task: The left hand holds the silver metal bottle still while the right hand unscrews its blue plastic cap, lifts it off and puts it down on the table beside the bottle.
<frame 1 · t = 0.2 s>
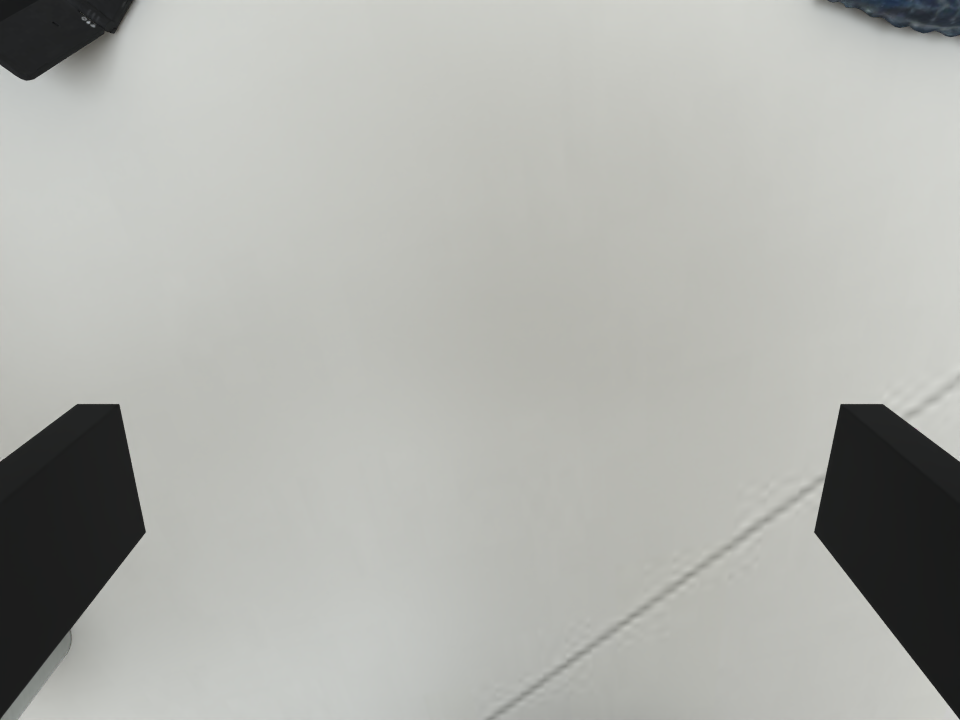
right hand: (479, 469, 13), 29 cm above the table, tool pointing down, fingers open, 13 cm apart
bottle: (21, 630, 51), on the table
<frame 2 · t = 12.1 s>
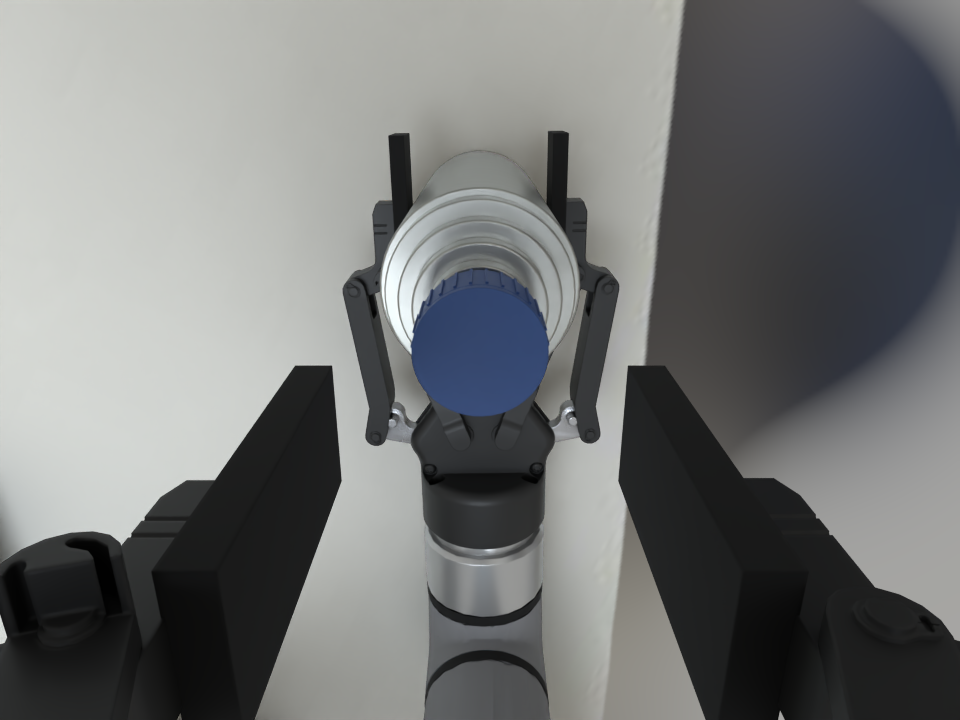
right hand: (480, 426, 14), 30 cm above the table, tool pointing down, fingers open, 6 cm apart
left hand: (478, 133, 34), fingers closed on bottle, 7 cm apart
bottle: (479, 211, 42), on the table, touching left hand
cap: (480, 350, 19), point 25 cm above the table, screwed on, not yet turned
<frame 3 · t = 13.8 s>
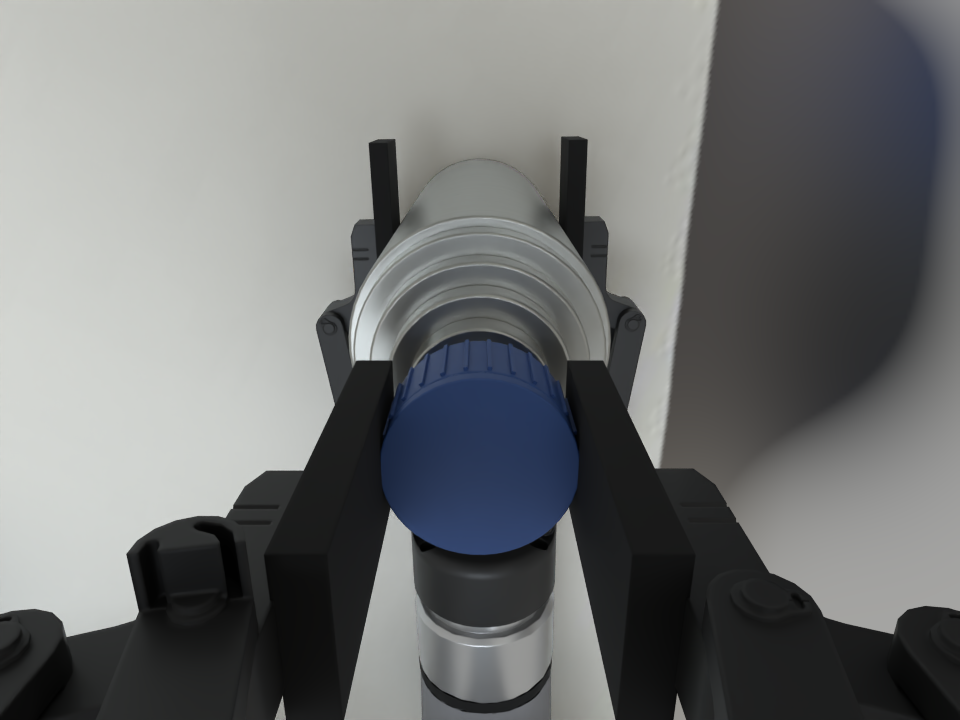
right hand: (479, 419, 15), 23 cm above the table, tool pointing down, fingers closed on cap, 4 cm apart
bottle: (479, 229, 36), on the table, touching left hand
cap: (479, 463, 13), point 25 cm above the table, screwed on, not yet turned, touching right hand
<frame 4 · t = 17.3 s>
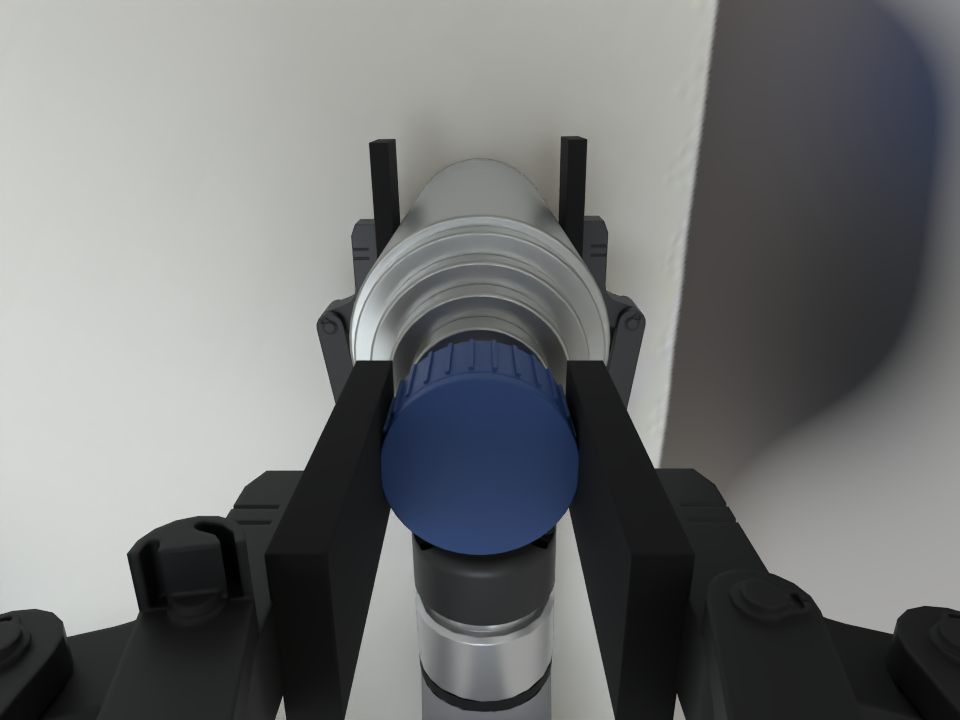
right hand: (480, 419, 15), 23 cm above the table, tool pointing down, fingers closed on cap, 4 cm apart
bottle: (479, 229, 37), on the table, touching left hand
cap: (479, 463, 13), point 25 cm above the table, turned 104° so far, risen 0.1 cm, still on its thread, touching right hand
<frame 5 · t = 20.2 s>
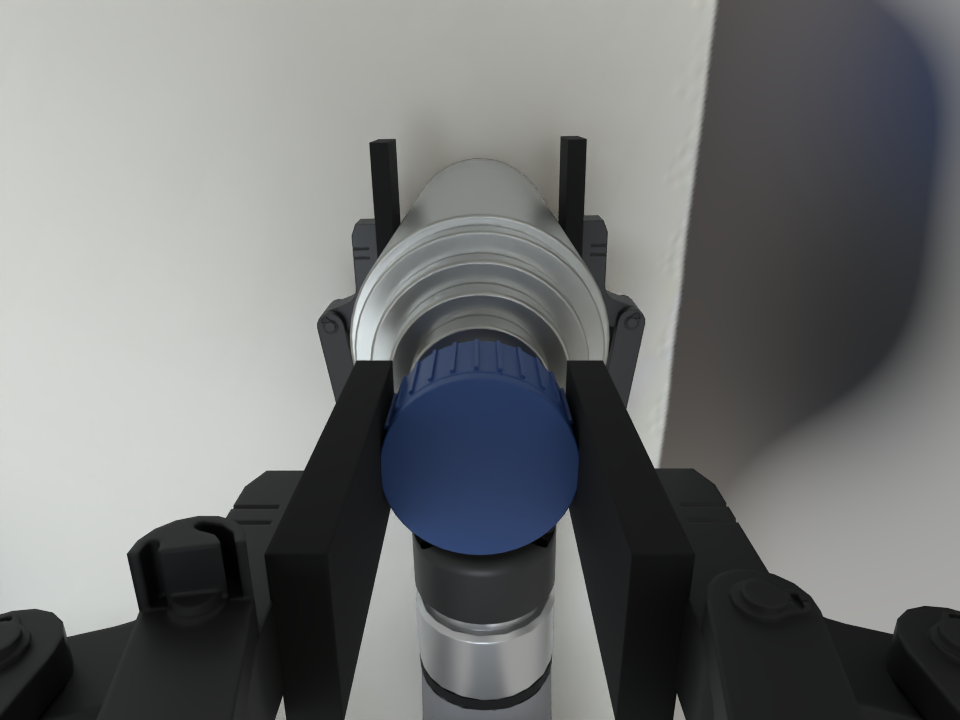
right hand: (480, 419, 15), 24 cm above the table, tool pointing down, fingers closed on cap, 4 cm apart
bottle: (479, 228, 37), on the table, touching left hand
cap: (479, 463, 13), point 25 cm above the table, turned 208° so far, risen 0.2 cm, still on its thread, touching right hand
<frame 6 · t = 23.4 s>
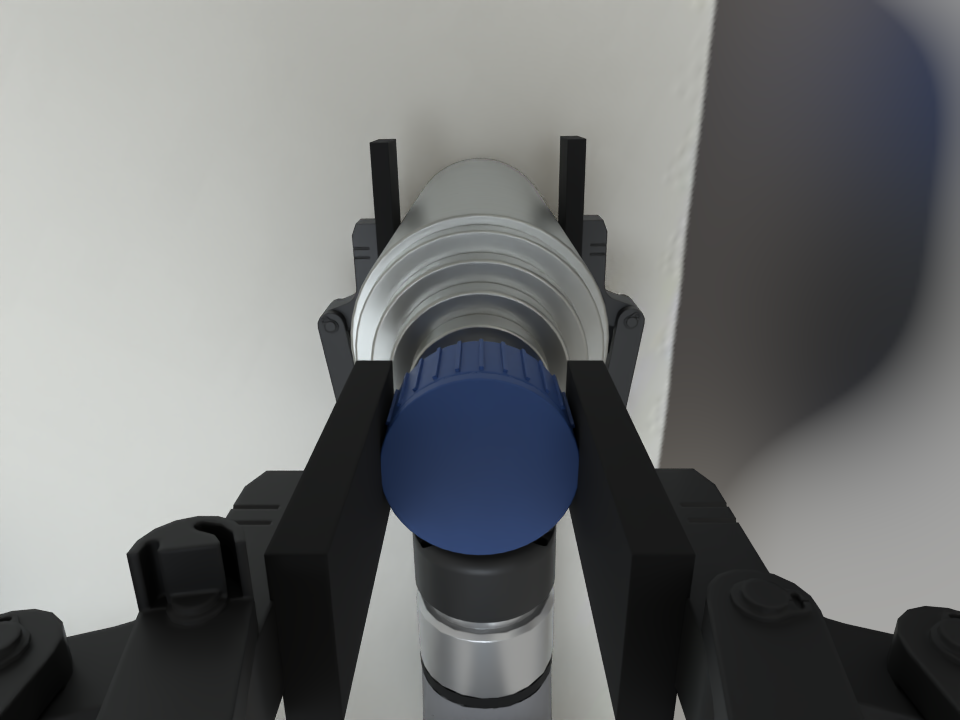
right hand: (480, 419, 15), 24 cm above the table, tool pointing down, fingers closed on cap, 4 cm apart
bottle: (479, 228, 37), on the table, touching left hand
cap: (479, 463, 13), point 26 cm above the table, turned 311° so far, risen 0.3 cm, still on its thread, touching right hand
when the right hand's fingers open (2 cm above the table, at t = 29.9 s): cap drops 2 cm, point 2 cm above the table.
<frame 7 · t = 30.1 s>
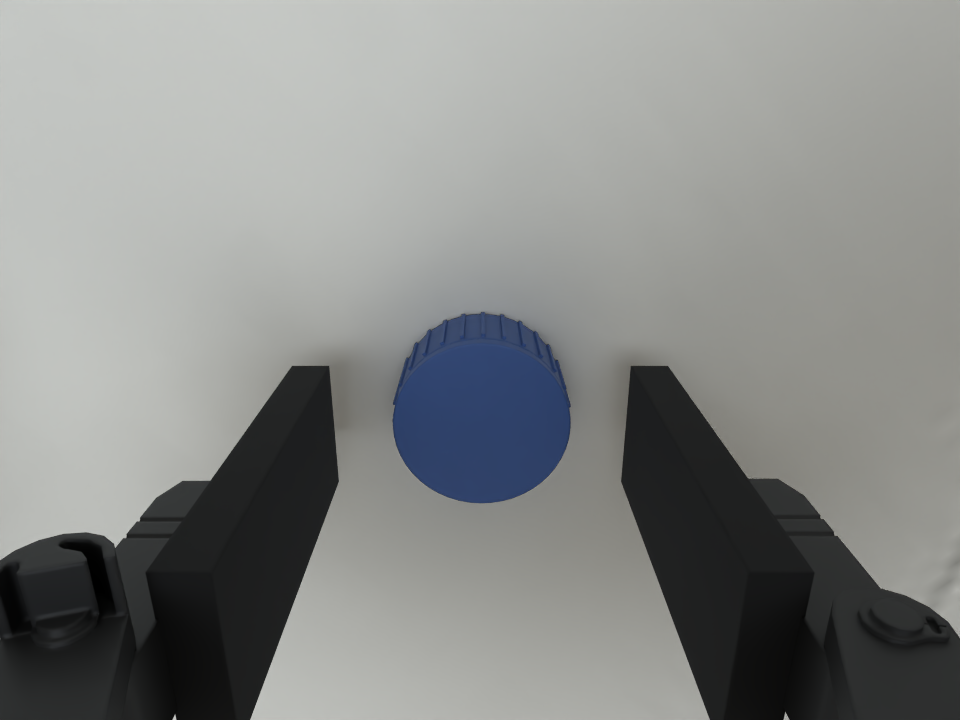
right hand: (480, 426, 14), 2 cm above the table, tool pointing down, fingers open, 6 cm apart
cap: (481, 421, 14), point 2 cm above the table, off its thread
when the left hand's fingers open (7 cm above the table, at t = 31.2 s): bottle stays where it is, on the table.
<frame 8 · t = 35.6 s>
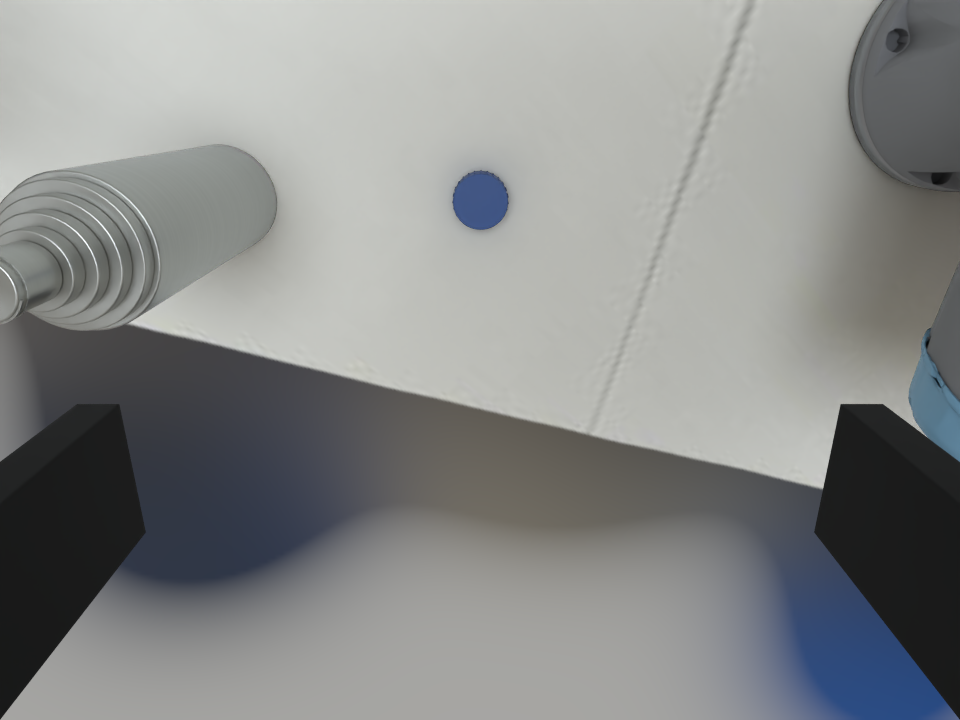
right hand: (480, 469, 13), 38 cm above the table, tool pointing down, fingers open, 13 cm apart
bottle: (225, 198, 48), on the table
cap: (480, 201, 46), point 2 cm above the table, off its thread
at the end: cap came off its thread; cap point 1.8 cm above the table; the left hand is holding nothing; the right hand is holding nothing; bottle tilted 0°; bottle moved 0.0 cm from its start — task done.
